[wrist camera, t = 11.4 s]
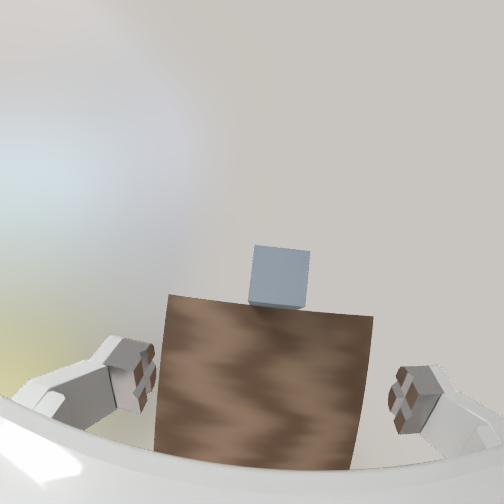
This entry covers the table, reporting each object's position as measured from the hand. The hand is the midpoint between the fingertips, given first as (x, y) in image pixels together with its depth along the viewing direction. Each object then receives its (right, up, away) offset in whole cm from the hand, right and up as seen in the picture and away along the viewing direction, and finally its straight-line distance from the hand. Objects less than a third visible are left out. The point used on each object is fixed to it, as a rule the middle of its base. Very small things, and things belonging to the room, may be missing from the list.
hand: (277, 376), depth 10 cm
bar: (+1, -1, +20) cm, 20 cm away
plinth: (-2, -26, +13) cm, 29 cm away
